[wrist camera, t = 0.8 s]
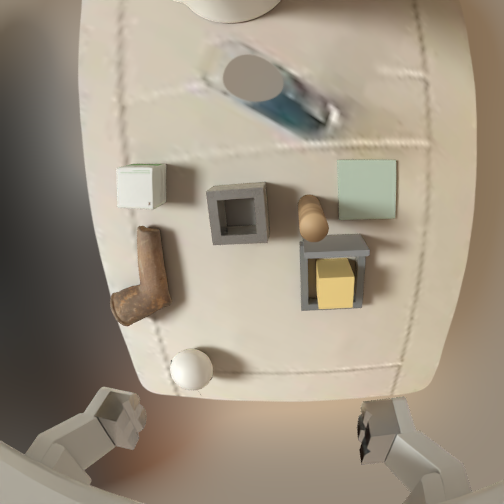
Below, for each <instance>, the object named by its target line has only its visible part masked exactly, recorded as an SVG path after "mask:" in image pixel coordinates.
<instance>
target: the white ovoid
mask: <svg viewBox="0 0 504 504" xmlns="http://www.w3.org/2000/svg"><path fill="white" fill-rule="evenodd" d="M170 371H171V376H172V378H173V380H174V381H175V382H176V383H177V385H178V386H180V387H181V388H183V389H186V390H199V389H202V388H203V387H205V386H206V385H207V384H208V383H209V381H210V380H211V379H212V376H213V366H212V363H211V361H210V358H209V357H208V356H207V355H206V354H205V353H203V352H201V351H199V350H196V349H186V350H183V351H181V352H179V353H178V354H177V355H176V356H175V357H174V358H173V360H171V366H170ZM198 392H199V391H198ZM200 395H201V394H200ZM201 396H202V395H201Z"/></svg>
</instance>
